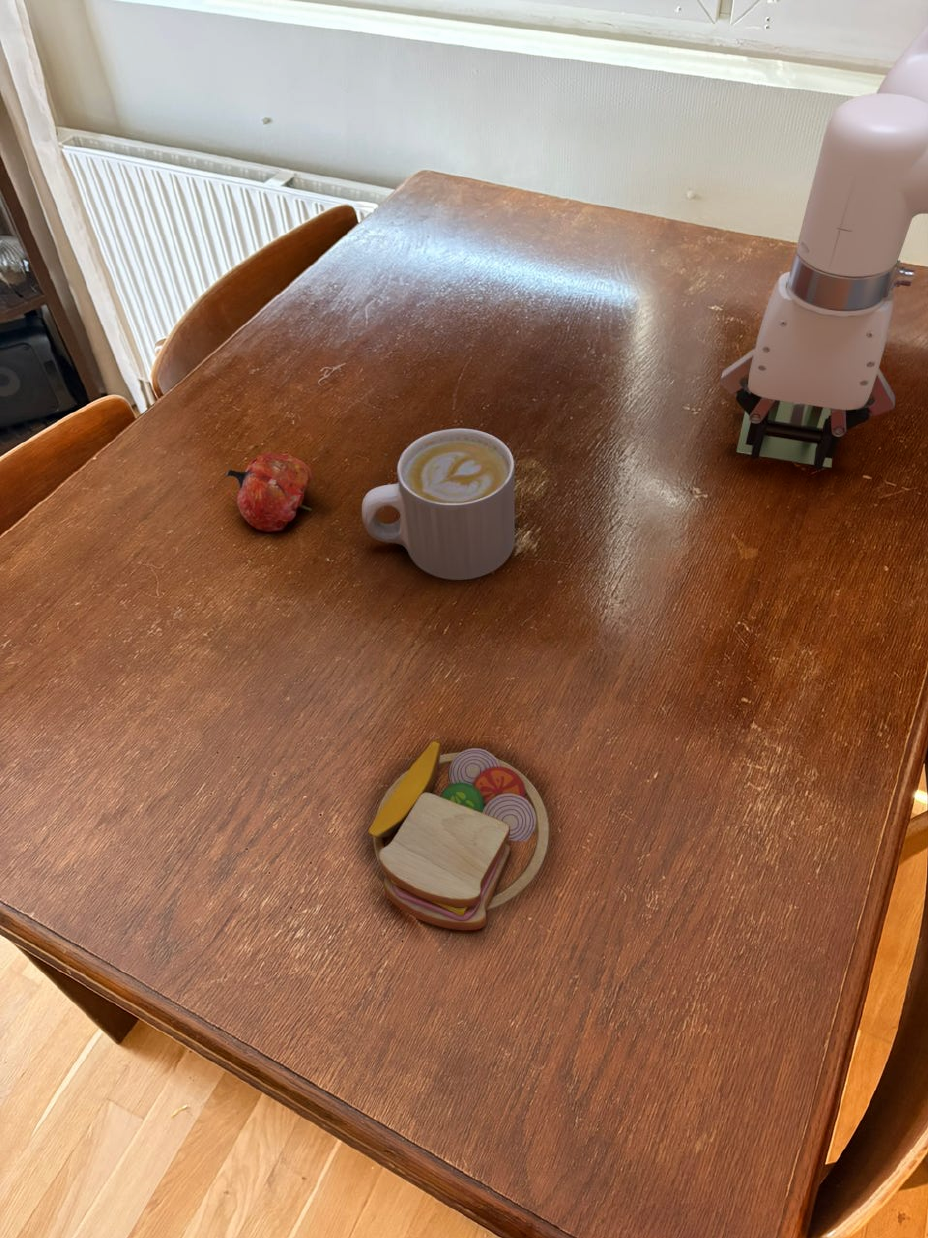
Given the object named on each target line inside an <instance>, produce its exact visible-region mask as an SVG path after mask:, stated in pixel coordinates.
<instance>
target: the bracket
mask: <svg viewBox="0 0 928 1238" xmlns="http://www.w3.org/2000/svg"><path fill="white" fill-rule="evenodd" d="M792 405H793V403H792V402H786V401H779V400H776V401H775V403H774V404H773V405H772V407H771V408H770V411H769V416H768V420H773V421H779V422H786V423H789V419H790V414H791V409H792ZM829 415H831V411H830V408H825V407H819V406H812V405H806V407H805V411H804V416H803V421H802V425H805V426H811V427H817V428H823V425H824V422H825V419H826V418H828V416H829ZM750 423H751V422H750V420H749V415H748V414H747V413H746V411H745V410H744V413H743V418H742V423H741V428H740V432H739V437H738V441H737V442H738V443H737V447H736V450H735V452H736V453H738V454H744V455H750V456H751V452H752V447H753V446H752V445H746V439H747V435H748V431H749V427H750ZM816 446H817V444H814V443H808V442H802V441H796V440H789V439H783V438H777V437H771V436H765V435H764V439H763V442H762V446H761V450H760V454H759V457H760V458H761V457H763V458H768V459H774V460H779V461H784V462H785V461H786V462H791V463H798V464H804V465H809V466H814V458H815V450H816ZM832 465H833V458H832V459H831V458H825V460H824V463H823V466H822V468H828V469H832V467H833V466H832Z"/></svg>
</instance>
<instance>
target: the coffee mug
mask: <svg viewBox="0 0 928 1238" xmlns="http://www.w3.org/2000/svg"><path fill="white" fill-rule="evenodd" d="M396 473H397V482H396V483H392V484H385V485H380V486H376V487H374V488H373V489H371V490H369V491H368V492H367V493H366V494H365V495H364V497H363V499H362V503H361V518H362V524H363V526H364V529H365V530H366V531H367V533H368V535H369V536H370V537H372V538H373V539H374V540H376V541H378V542H382V543H388V544H397V545H401V546H402V547H403V548H405V549H406V551H407V554H408V556H409V557H410V559H411V560H412V561H413V563H414V564H415V565H416V566H417V567H418V568H419V569H421V570H422V571H423V572H425V573H426V574H429V575H432V576H433V577H436V578H441V579H444V580H452V581H453V580H455V581H461V580H462V581H463V580H471V579H476V578H477V579H478V578H480V577H483V576H485V575H488V574H490V573H492V572H494V571H496V570H497V569H499V568H500V567H502V565H504V563H505V562H507V561H508V559H509V557H510V556H511V554H512V552H513V550H514V547H515V539H516V534H515V533H516V530H515V529H516V528H515V527H516V524H515V523H516V521H515V519H516V518H515V517H516V515H515V514H516V513H515V509H516V507H515V499H516V498H515V495H516V493H515V491H516V490H515V481H516V480H515V459H514V457H513V454H512V452H511V450H510V448H509V447H508V446H507V445H506V444H505V443H504V442H503V441H502V440H500V439H499V438H497V437H495V436H494V435H492V434H489V433H487V432H484V431H481V430H477V429H471V428H461V427H459V428H447V429H441V430H437V431H433V432H430V433H428V434H425V435H423V436H421V437H420V438H418V439H416V440H415V441H413V442H411V444H409V445H408V446H407V447H406V449H405V450H403V452H402V453H401V455H400V457H399V460H398V462H397V467H396ZM384 507H385V508H386V507H393V508H395V509H396V510H397V511H398V512H399V518H397V520H396V521H395V522H392V523H384V522H382V521H380V520H379V518H378V516H377V514H378V512H379V511H380V509H383V508H384Z"/></svg>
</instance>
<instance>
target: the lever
mask: <svg viewBox="0 0 928 1238" xmlns="http://www.w3.org/2000/svg"><path fill="white" fill-rule="evenodd" d="M805 407H806V405H805V404H799V403H793V405H792V409H791V414H790V419H789V423H786V422H779V421H773V420H768V422H767V427H766V431H765V436H771V437H777V438H783V439H789V440H796V441H802V442H808V443H814V444H820V443H821V440H822V436H823V432H824V429H823V428H817V427H811V426H805V425H802V421H803V416H804V411H805Z"/></svg>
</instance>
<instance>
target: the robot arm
mask: <svg viewBox="0 0 928 1238" xmlns="http://www.w3.org/2000/svg"><path fill="white" fill-rule="evenodd" d="M922 214H924V215H925V214H927V215H928V23H927V24H926V25H925V26H924V27H923V29H922V30H921V31H920V32H919V33H918V35H916V37H915V38H914V39H913V41H911V43H910V44H909V45H908V46H907V48H905V50H904V51H903V52H902V54H901V55H900V56H899V58H898V59H897V60H896V61H895V63H894V64H893V66H892V67H891V69H890V70H889V71H888V73H887V74H886V76H885V77H884V78H883V80H882V82H881V83H880V85H879V87H878V89H877V90H876V92H875V93H867V94H861V95H858V96H854V97H852V98H849V99H848V100H846V101H844V102H843V103H841V104H840V105H839V106H838V107H837V108H836V109H835V110H834V111H833V113H832V114H831V116H830V118H829V120H828V123H827V125H826V129H825V132H824V135H823V139H822V143H821V147H820V152H819V154H818V159H817V164H816V167H815V171H814V175H813V180H812V183H811V187H810V191H809V195H808V199H807V203H806V207H805V211H804V216H803V220H802V224H801V228H800V232H799V236H798V239H797V244H796V246H795V251H794V254H793V259H792V263H791V267H790V271H787V272H785V273H782V274H781V275H780V276H779V278H778V280H777V282H776V283H775V286H774V288H773V289H772V292H771V295H770V297H769V300H768V301H767V305H766V308H765V310H764V314H763V317H762V320H761V324H760V326H759V331H758V334H757V337H756V341H755V343H754V348H752V349H751V350H750V351H748V352H747V353H746V354H744V355H743V356H742V357H740V358H738V360H736V361H735V362H733V363H732V364H731V365H729V366H728V367H727V368H725V369H723V371H722V373H721V375H720V380H719V383H720V385H721V386H722V387H723V388H724V389H725V390H726V391H727V392H728V393H729V394H730V395H731V396H734V397H735V400H736V402H737V403H738V404H739V406H740V407H741V408H742V409H743V410H744V412H745V411H746V413H747V414H748V415H749V420H750V422H751V423H750V427H749V431H748V435H747V439H746V445H752V446H753V447H752V452H751V455H750V457H749V459H750V460H757V459H759V457H760V456H759V454H760V450H761V446H762V442H763V439H764V435H765V431H766V427H767V422H768V416H769V411H770V408H771V407H772V405H773V404H774V403H775V401H776V400H779V401H786V402H792V403H799V404H805V405H812V406H819V407H825V408H830V411H831V415H829V416H828V418H826V419H825V422H824V425H823V429H824V432H823V436H822V440H821V443H820V444H817V446H816V450H815V458H814V465H812V467H813V469H815V471H822V470H823V467H822V466H823V463H824V460H825V458H831V459H832V460H833V457H834V455H835V453H836V449H837V447H838V443H839V440H840V438H841V437H843V436H845V435H846V433H847V431H848V430H851V429H852V428H855V427H857V426H859V425H861V424H863V423H865V422H867V421H869V419H870V418H873V417H877V416H879V415H882V414H884V413H888V412H890V411H892V410H894V409H895V406H896V395H895V393H894V392H893V390H892V388H891V386H890V384H889V383H888V381H887V379H886V377H885V375H884V374H883V372H882V370H881V369H880V365H881V361H882V358H883V354H884V351H885V347H886V344H887V338H888V333H889V328H890V323H891V318H892V315H893V311H894V310H893V309H894V302H895V290H894V288H895V287H896V288H900V286H902V287H904V286H905V287H910V286H911V285H912V283H913V279H914V277H915V272H916V269H915V268H914V267H906V265H905V264H901V259H899V258H900V256H901V253H902V249H903V246H904V243H905V241H906V238H907V235H908V232H909V229H910V226H911V224H912V221H913V218H915V217H917V216H918V215H922ZM747 376H748V379H747V380H748V382H746V381H745V378H746V377H747ZM870 396H871V397H870Z"/></svg>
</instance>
